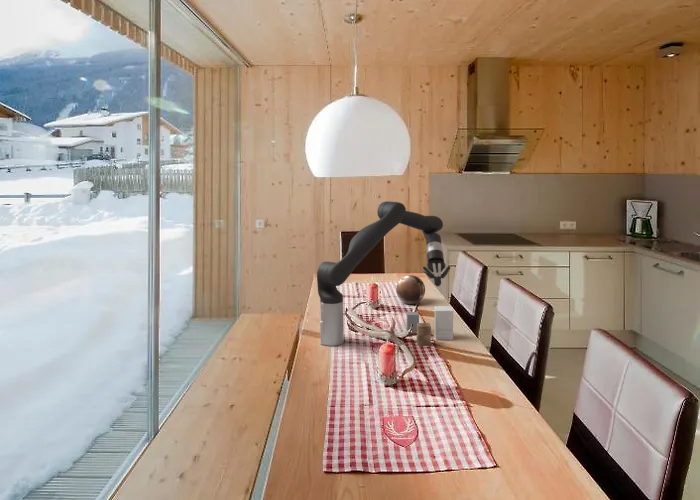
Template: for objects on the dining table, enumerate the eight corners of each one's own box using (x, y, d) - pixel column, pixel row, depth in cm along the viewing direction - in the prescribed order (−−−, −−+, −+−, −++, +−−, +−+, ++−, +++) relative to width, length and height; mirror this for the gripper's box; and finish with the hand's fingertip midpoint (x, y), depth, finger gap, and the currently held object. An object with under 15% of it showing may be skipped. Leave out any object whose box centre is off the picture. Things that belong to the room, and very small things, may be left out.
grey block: (407, 333, 228) (407, 314, 227) (406, 329, 233) (406, 311, 232) (419, 332, 228) (419, 314, 227) (417, 329, 233) (418, 311, 231)
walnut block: (418, 345, 211) (418, 326, 210) (416, 341, 216) (417, 322, 215) (430, 345, 211) (430, 326, 210) (429, 341, 216) (429, 322, 215)
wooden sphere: (390, 302, 281) (390, 274, 278) (414, 298, 288) (414, 271, 285) (406, 308, 268) (406, 279, 265) (430, 304, 275) (431, 276, 272)
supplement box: (451, 334, 224) (451, 305, 222) (453, 340, 217) (453, 310, 215) (433, 334, 225) (434, 305, 223) (434, 340, 218) (435, 310, 216)
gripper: (421, 249, 243) (423, 280, 232) (450, 248, 242) (454, 280, 232) (419, 258, 249) (422, 289, 238) (448, 258, 248) (452, 289, 238)
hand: (438, 285), depth 235 cm, fingers closed
